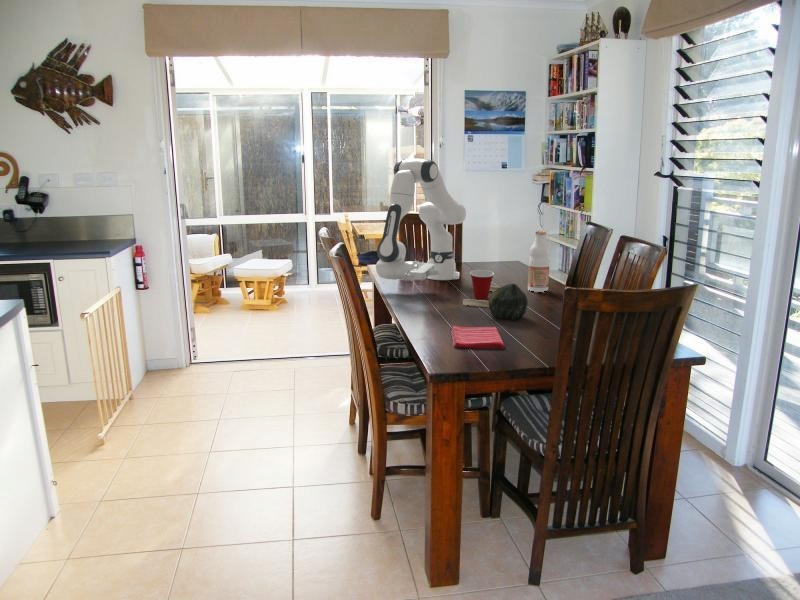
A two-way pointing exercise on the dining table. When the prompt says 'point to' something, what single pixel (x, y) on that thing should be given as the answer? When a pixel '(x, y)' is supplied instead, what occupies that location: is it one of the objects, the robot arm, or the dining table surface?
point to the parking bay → (479, 302)
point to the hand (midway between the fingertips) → (439, 272)
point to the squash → (508, 302)
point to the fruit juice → (539, 264)
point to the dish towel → (477, 337)
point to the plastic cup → (481, 283)
